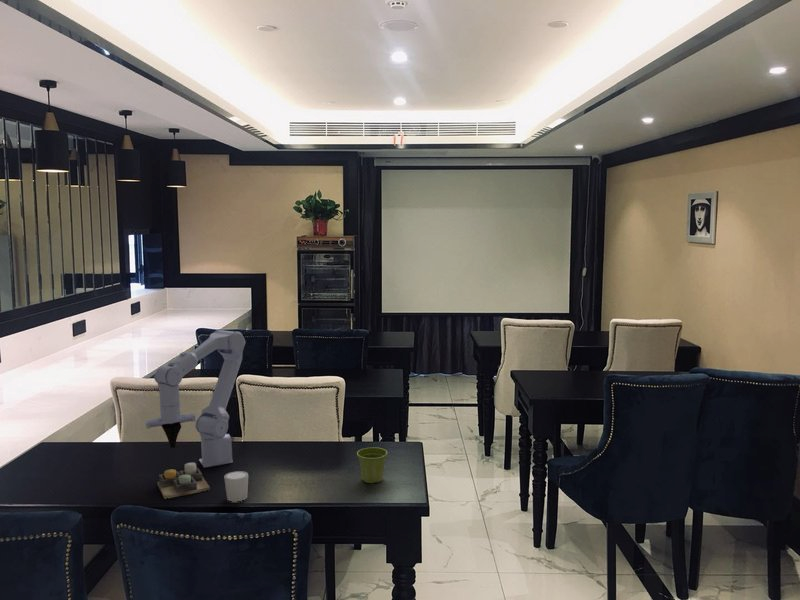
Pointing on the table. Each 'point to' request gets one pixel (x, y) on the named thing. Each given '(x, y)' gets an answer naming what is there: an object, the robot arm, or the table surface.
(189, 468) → the white small cylinder
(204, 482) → the button panel board
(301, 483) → the table surface
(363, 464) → the plant pot
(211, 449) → the robot arm
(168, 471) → the amber button
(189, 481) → the sage button
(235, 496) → the white cup
